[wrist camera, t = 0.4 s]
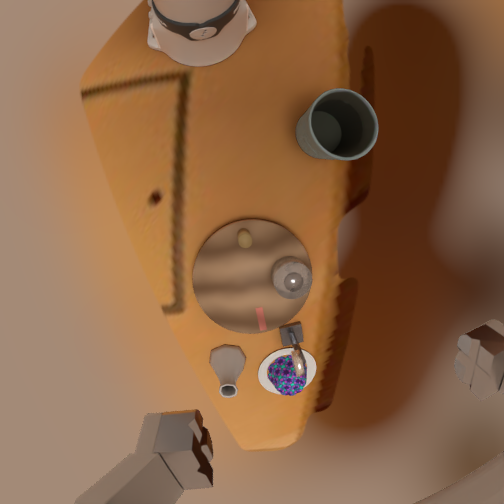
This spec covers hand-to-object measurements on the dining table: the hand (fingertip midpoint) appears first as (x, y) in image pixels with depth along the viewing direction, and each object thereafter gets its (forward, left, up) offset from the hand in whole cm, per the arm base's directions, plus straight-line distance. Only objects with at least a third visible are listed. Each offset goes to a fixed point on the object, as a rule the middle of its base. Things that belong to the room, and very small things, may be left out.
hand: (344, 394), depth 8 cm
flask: (+28, -9, -46) cm, 54 cm away
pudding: (+34, +2, -46) cm, 57 cm away
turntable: (+12, -1, -45) cm, 47 cm away
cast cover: (+12, +5, -43) cm, 44 cm away
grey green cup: (-10, +15, -45) cm, 49 cm away
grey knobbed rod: (+25, +4, -45) cm, 52 cm away
